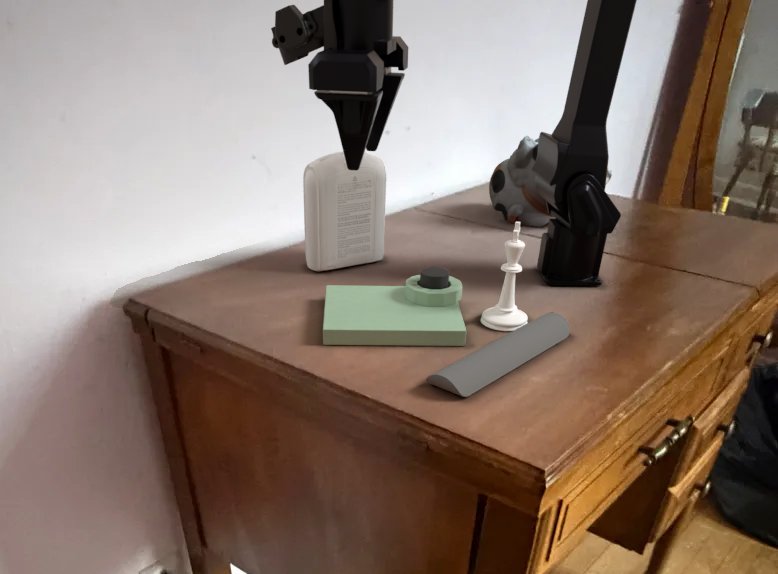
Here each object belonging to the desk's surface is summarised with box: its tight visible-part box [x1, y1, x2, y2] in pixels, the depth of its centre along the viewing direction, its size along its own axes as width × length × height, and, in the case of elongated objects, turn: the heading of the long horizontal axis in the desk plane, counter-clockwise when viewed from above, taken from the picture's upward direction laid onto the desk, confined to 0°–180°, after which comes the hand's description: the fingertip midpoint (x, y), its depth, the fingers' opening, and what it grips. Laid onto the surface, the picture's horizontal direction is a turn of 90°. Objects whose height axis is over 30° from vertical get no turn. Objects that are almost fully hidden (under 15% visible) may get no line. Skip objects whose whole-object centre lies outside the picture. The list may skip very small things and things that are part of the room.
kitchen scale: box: [322, 274, 467, 347], centre depth 74 cm, size 14×12×3 cm
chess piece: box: [480, 222, 529, 332], centre depth 73 cm, size 5×5×10 cm
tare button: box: [419, 266, 450, 289], centre depth 76 cm, size 3×3×2 cm
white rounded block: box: [302, 151, 387, 272], centre depth 85 cm, size 10×4×12 cm, turn 123°
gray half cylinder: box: [425, 311, 571, 398], centre depth 68 cm, size 4×20×2 cm, turn 139°
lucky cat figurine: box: [488, 135, 613, 228], centre depth 102 cm, size 15×12×14 cm
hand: (362, 159), depth 75 cm, fingers open, 9 cm apart
